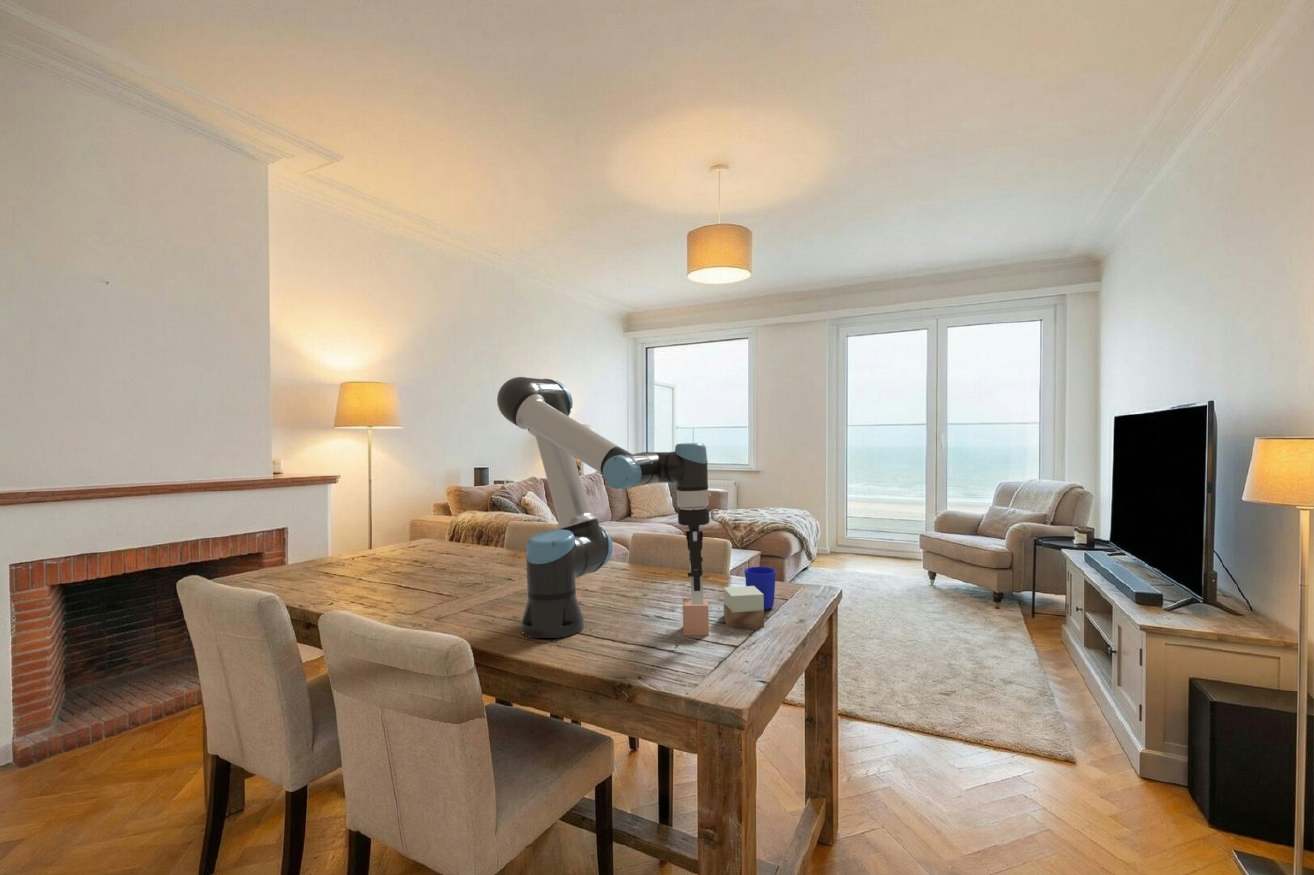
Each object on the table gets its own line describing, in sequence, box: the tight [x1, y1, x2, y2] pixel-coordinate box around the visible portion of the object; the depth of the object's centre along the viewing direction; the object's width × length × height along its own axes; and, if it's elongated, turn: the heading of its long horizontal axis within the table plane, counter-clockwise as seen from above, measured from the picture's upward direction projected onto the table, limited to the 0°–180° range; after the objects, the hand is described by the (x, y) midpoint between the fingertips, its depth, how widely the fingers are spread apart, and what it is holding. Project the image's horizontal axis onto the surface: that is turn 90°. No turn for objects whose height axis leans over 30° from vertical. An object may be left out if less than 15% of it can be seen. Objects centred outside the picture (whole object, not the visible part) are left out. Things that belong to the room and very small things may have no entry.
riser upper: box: [723, 585, 765, 612], centre depth 150 cm, size 8×8×4 cm
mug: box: [744, 566, 777, 611], centre depth 163 cm, size 8×12×10 cm
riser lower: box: [723, 603, 765, 628], centre depth 150 cm, size 9×9×4 cm
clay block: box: [682, 597, 710, 636], centre depth 144 cm, size 6×6×7 cm
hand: (696, 596), depth 143 cm, fingers open, 13 cm apart
